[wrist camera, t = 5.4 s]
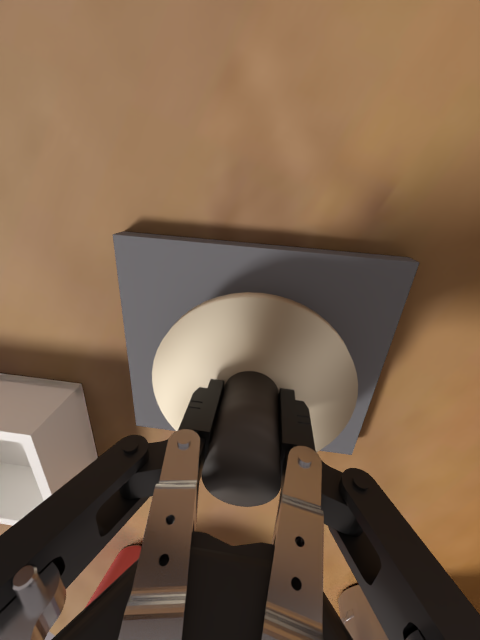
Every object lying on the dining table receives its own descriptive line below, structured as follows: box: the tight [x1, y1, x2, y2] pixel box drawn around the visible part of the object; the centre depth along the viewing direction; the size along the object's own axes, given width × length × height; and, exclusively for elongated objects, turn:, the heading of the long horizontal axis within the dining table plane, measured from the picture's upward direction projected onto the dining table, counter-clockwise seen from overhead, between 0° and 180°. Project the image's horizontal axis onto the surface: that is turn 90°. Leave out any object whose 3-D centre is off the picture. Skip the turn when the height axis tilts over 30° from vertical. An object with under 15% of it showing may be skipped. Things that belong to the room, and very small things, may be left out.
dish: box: [0, 373, 98, 525], centre depth 22 cm, size 11×11×5 cm
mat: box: [113, 231, 419, 455], centre depth 18 cm, size 16×14×1 cm
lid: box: [152, 292, 358, 507], centre depth 13 cm, size 11×11×6 cm
